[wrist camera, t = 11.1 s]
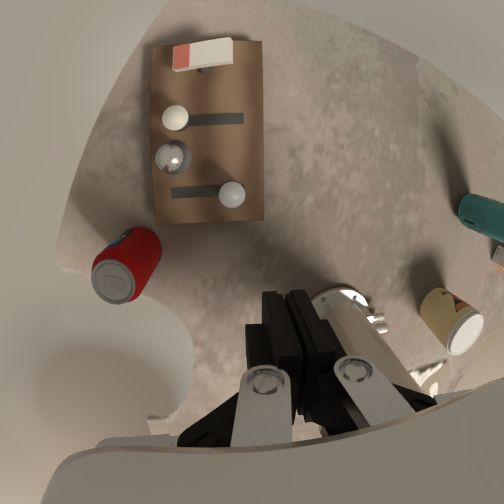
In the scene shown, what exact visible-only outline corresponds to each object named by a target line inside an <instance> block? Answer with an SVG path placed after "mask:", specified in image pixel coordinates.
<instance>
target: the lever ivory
mask: <svg viewBox="0 0 504 504" xmlns="http://www.w3.org/2000/svg"><path fill="white" fill-rule="evenodd" d="M162 122H163V124H164V126H165V127H166V128H167V129H170V130H173V131H176V132H181V131H184V130H186V129H187V128H188V127H189V125H190V123H191V117H190V114H189V113H188V112H187V111H186V109H185V108H184V107H182V106H179V105H173V106H170V107H168V108H167V109H166V110H165V111H164V113H163V116H162Z"/></svg>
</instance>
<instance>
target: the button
mask: <svg viewBox="0 0 504 504" xmlns="http://www.w3.org/2000/svg"><path fill="white" fill-rule="evenodd" d="M155 161H156V164H157V166H158V167H159V168H160V169H161V170H163V171H166V172H171V171H175V170H177V169H179V168H180V167H181V166H182V165H183V164H184V162H185V152H184V150H183V149H182V148H181V147H180V146H178V145H174V144H166V145H163V146H162V147H160V148H159V149H158V151H157V153H156V156H155Z"/></svg>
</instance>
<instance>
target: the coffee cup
mask: <svg viewBox="0 0 504 504" xmlns="http://www.w3.org/2000/svg"><path fill="white" fill-rule="evenodd" d="M420 316H421V318H422V319H423V321H424V322H425V323H426V324H427V326H428V327H429V328H430V329H431V331H432V332H433V333H434V334H435V336H436V337H437V338H438V339H439V341H440V342H441V343H442V344H443V345H444V347H445V348H446V350H447V351H448V353H449V354H452V355H460V354H462V353H464V352H465V351H467V350H468V349H469V348H470V347H471V346H472V345H473V344H474V342H475V341H476V340H477V338H478V337H479V335H480V333H481V330H482V328H483V323H484V319H483V316H482V313H481V312H480V311H479V310H477V309H475V308H473V307H472V306H470V305H469V304H467V303H466V302H464V301H463V300H461V299H460V298H458V297H457V296H455V295H453V294H452V293H450V292H449V291H447V290H445V289H444V288H440V287H439V288H435V289H433V290H432V291H430V292H429V293H428V294H427V295H426V297H425V298H424V300H423V301H422V304H421V306H420Z"/></svg>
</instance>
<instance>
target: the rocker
mask: <svg viewBox="0 0 504 504" xmlns="http://www.w3.org/2000/svg"><path fill="white" fill-rule="evenodd" d="M226 64H233V40H232V39H231V38H230V37H226V38H219V39H213V40H207V41H201V42H196V43H191V44H190V43H188V44H183V45H179V46H174V47H173V67H172V70H173V71H175V72H181V71H186V70H192V69H198V68H204V67H211V66H218V65H226Z"/></svg>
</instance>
